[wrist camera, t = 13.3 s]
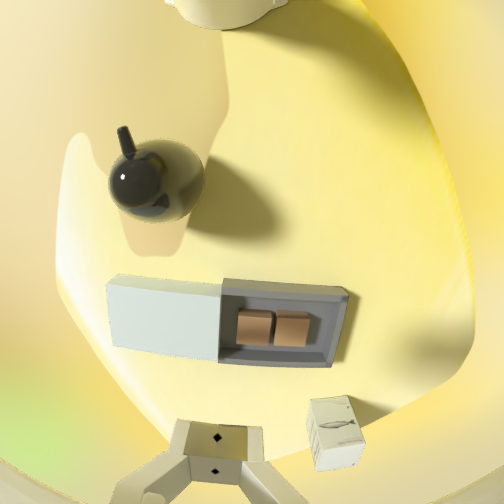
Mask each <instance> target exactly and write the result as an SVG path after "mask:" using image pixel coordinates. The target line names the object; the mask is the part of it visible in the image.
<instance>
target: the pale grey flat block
mask: <svg viewBox="0 0 504 504" xmlns="http://www.w3.org/2000/svg"><path fill="white" fill-rule="evenodd" d="M221 290H222V285H220V284H209V283H198V282H188V281H178V280H169V279H159V278H150V277H142V276H133V275H125V274H118V275H116V276H115V277H114V278H112V279H111V280H110V281H109V282H107V283H106V294H107V304H108V313H109V321H110V329H111V336H112V342H113V346H117V347H122V348H127V349H132V350H138V351H144V352H149V353H156V354H162V355H169V356H175V357H183V358H191V359H199V360H208V361H218V355H219V349H220V334H221V314H222V297H223V294H221Z"/></svg>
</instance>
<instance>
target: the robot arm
mask: <svg viewBox="0 0 504 504" xmlns="http://www.w3.org/2000/svg"><path fill="white" fill-rule="evenodd" d="M164 1H165V3H166V4H168V5H170V6H172V7H174V8H176V9H177V10H178V11H179V12H180V14H181V15H182V16H183V17H184V18H185V19H186V20H187V21H188V22H190V23H192V24H194V25H196V26H199V27H202V28H207V29H214V30H224V29H233V28H238V27H242V26H245V25H248V24H250V23H252V22H254V21H256V20H258V19H259V18H261V17H262V16H263V15H264V14H266V13H267V12H268V11H270V10H271V9H274V8H277V7H280V6H283V5H285V4H287V2H288V0H164ZM191 481H198V482H209V483H219V484H230V485H239V487H240V488H241V489H242V491H243V492H244V494H245V495H246V497H247V498H248V499H249V501H250V502H251V503H252V504H309V502H308V501H307V500H306V499H305V498H304V497H303V496H302V495H301V494H300V493H299V492H298V491H297V490H296V489H295V488H294V487H293V486H291V484H290V483H288V481H287V480H286V479H285V478H284V477H283V476H282V475H281V474H280V473H279V472H278V471H277V470H276V469H275V468H274V467H273V466H272V465H271V464H270V463H269V462H268V461H264V447H263V429H262V427H257V426H239V425H223V424H210V423H203V422H196V421H189V420H183V419H177V420H176V422H175V425H174V429H173V432H172V436H171V440H170V444H169V448H168V451H167V452H164V451H163V452H162V453H160V454H159V455H157V456H156V457H155V458H153V459H152V460H150V461H149V462H147V463H146V464H144V465H143V466H142V467H140V468H139V469H137V470H136V471H134V472H133V473H131V474H130V475H128V476H127V477H125V478H124V479H122V480H120V481H119V482H117V484H116V487H115V490H114V492H113V495H112V498H111V501H110V503H109V504H169V503H170V502H171V501H172V500H173V499H174V498H175V497H176V496H178V495H179V494H180V493H181V492H182V491H183V490H184V489H185V488H186V487H187V486H188V485H189V484H190V483H191ZM0 504H87V503H84V502H81V501H79V500H77V499H74V498H72V497H70V496H68V495H65V494H63V493H61V492H59V491H57V490H55V489H53V488H51V487H49V486H47V485H45V484H43V483H41V482H39V481H37V480H36V479H34V478H32V477H30V476H28V475H27V474H25V473H23V472H22V471H20V470H18V469H17V468H15V467H14V466H12V465H10V464H9V463H7V462H6V461H4V460H3V459H1V458H0ZM429 504H504V466H502V467H499V468H498V469H496V470H495V471H493V472H491V473H490V474H488V475H486V476H484V477H483V478H481V479H479V480H478V481H476V482H474V483H472V484H470V485H468V486H466V487H464V488H462V489H460V490H458V491H456V492H454V493H452V494H450V495H447V496H445V497H443V498H441V499H438V500H436V501H433V502H431V503H429Z"/></svg>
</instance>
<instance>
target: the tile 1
mask: <svg viewBox="0 0 504 504" xmlns="http://www.w3.org/2000/svg"><path fill="white" fill-rule="evenodd" d="M271 321H272V316H271V310H259V309H247V308H239V314H238V326H237V338H236V344H246V345H260V346H268V342H269V335H270V328H271Z"/></svg>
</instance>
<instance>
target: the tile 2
mask: <svg viewBox="0 0 504 504" xmlns="http://www.w3.org/2000/svg"><path fill="white" fill-rule="evenodd" d="M309 324H310V318H309V315H308V313H307V312H303V311H286V310H276V316H275V323H274V330H273V344H274V346H295V347H305V343H306V338H307V333H308V329H309Z"/></svg>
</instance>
